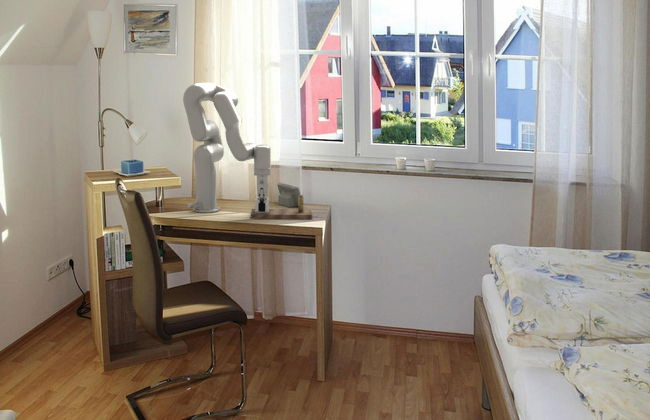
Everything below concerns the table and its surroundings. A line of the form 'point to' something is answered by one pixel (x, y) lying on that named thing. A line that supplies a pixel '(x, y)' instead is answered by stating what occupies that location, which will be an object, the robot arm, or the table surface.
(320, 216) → the table surface
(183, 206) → the table surface
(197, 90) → the robot arm
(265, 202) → the white cube
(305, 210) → the board
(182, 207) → the table surface
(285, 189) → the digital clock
